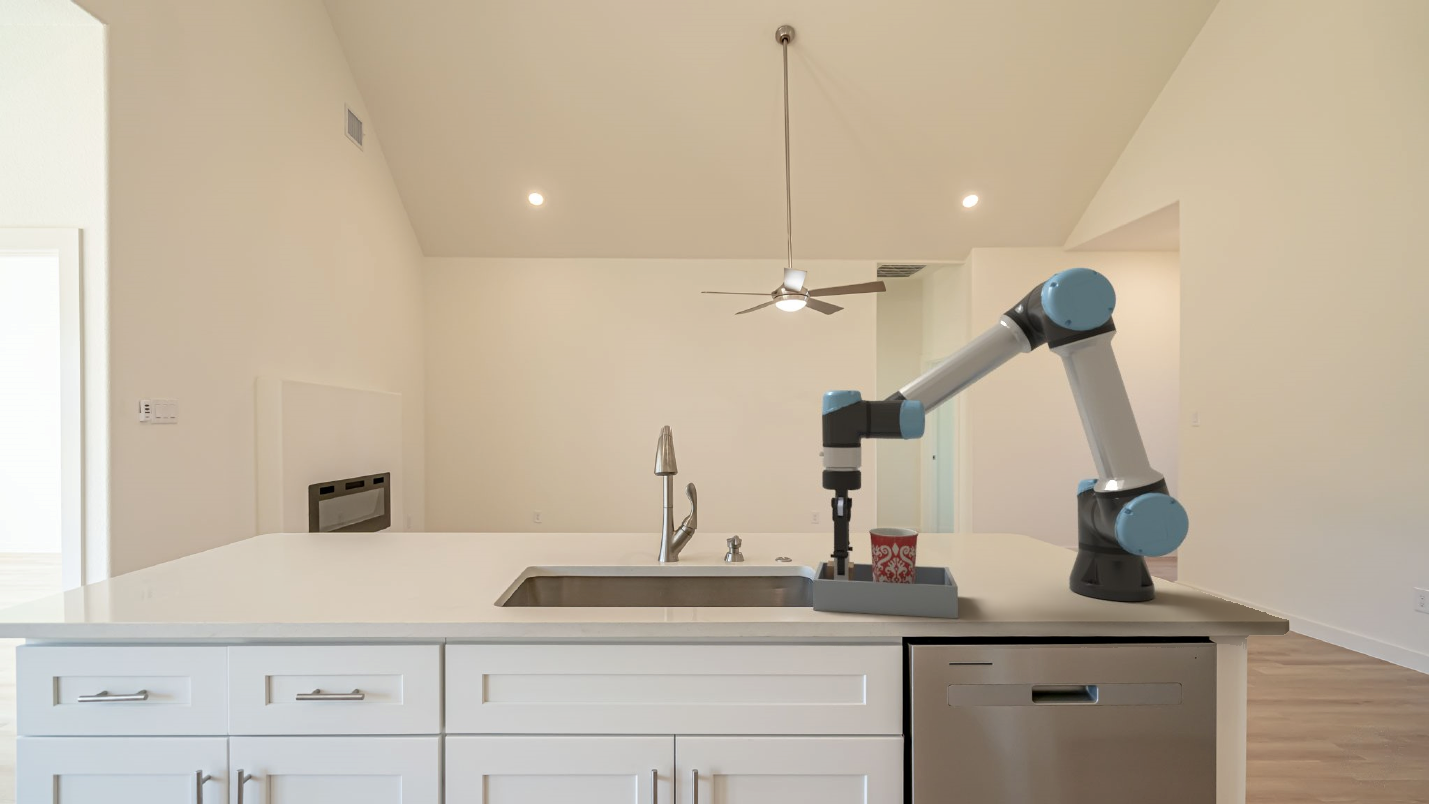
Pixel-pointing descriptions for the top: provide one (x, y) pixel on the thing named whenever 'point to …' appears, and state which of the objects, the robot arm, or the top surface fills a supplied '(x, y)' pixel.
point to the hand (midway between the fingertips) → (841, 587)
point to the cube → (831, 571)
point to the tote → (888, 593)
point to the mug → (893, 555)
